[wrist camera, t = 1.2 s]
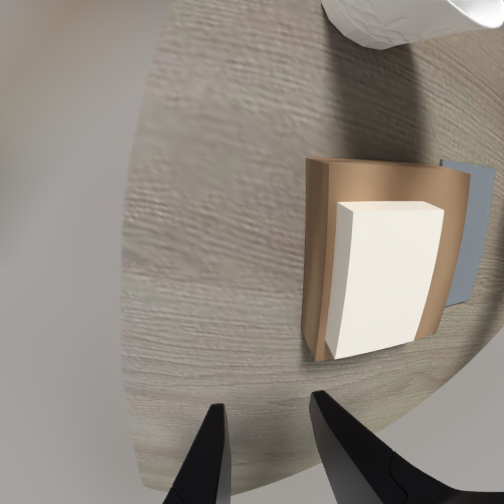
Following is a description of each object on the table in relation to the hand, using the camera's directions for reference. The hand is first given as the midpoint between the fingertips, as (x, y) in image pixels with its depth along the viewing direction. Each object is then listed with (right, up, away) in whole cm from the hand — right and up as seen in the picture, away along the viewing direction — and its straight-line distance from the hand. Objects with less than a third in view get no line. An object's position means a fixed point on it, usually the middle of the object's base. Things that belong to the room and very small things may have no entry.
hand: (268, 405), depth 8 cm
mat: (+19, +6, +13) cm, 23 cm away
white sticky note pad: (+7, +4, +8) cm, 11 cm away
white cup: (+7, +22, +5) cm, 24 cm away
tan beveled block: (+9, +5, +12) cm, 16 cm away
